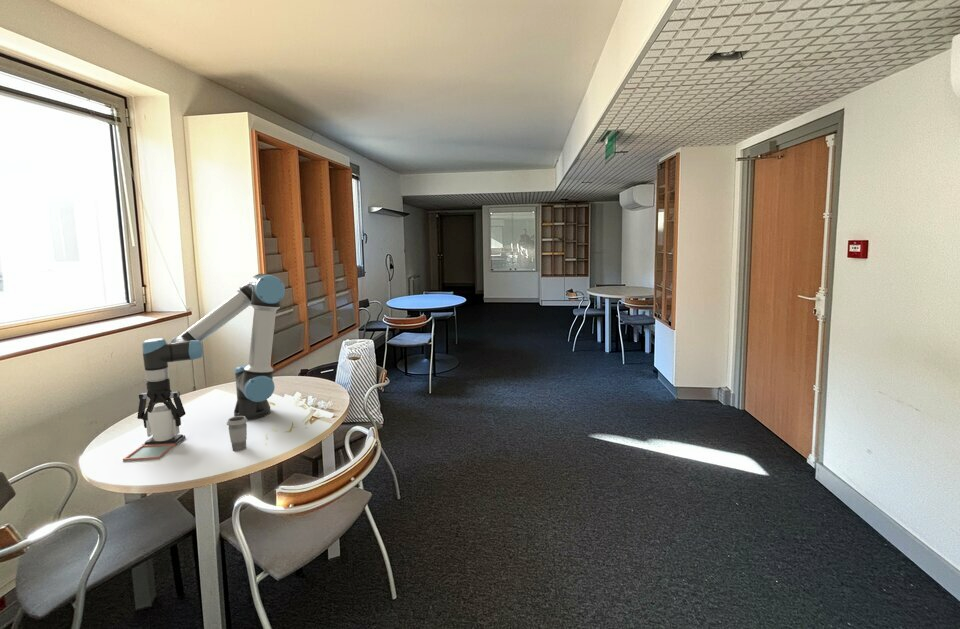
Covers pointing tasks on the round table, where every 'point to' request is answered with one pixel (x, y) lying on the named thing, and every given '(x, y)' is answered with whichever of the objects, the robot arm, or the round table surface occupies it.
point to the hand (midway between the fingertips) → (163, 434)
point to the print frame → (149, 452)
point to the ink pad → (174, 440)
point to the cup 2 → (238, 432)
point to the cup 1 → (161, 423)
